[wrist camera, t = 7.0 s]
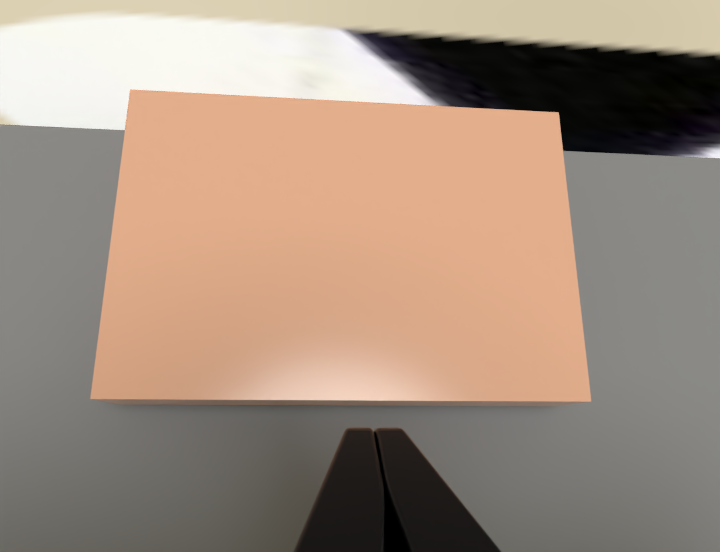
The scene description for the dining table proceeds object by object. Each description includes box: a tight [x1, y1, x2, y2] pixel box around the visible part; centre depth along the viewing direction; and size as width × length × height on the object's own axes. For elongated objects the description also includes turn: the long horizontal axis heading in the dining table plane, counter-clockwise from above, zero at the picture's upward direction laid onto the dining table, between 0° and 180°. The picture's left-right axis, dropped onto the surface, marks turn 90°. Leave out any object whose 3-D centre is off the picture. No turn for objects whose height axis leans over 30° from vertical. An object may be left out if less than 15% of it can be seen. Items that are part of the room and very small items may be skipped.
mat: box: [0, 125, 720, 552], centre depth 15 cm, size 15×24×1 cm, turn 90°
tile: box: [90, 90, 591, 406], centre depth 14 cm, size 2×11×8 cm
